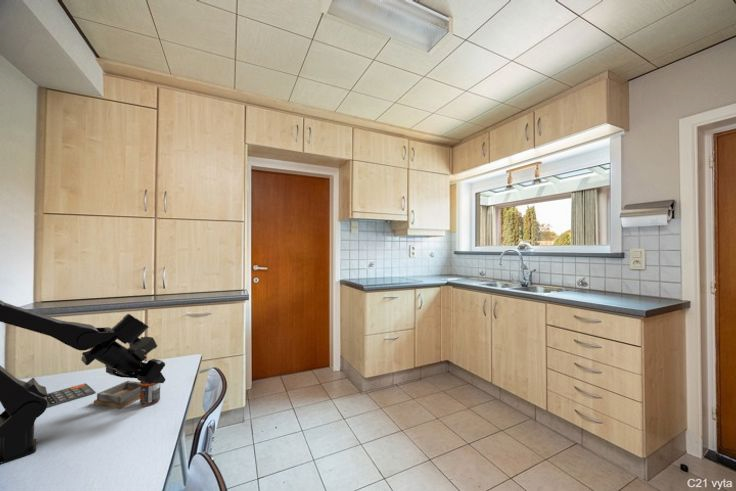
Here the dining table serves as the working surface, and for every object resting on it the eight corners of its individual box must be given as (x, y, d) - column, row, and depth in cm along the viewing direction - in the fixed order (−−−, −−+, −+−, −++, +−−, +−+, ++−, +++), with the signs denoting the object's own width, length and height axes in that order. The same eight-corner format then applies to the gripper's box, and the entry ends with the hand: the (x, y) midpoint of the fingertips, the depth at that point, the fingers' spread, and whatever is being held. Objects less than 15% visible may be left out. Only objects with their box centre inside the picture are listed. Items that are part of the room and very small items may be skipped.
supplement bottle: (136, 404, 92) (136, 372, 92) (154, 397, 96) (155, 367, 97) (145, 408, 90) (145, 376, 90) (163, 400, 94) (163, 370, 94)
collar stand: (152, 392, 99) (152, 383, 99) (120, 408, 89) (120, 398, 89) (128, 389, 102) (128, 379, 102) (93, 404, 91) (94, 394, 92)
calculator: (96, 391, 99) (28, 411, 86) (96, 394, 99) (27, 415, 86) (85, 382, 105) (21, 400, 93) (85, 385, 105) (21, 403, 93)
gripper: (159, 334, 86) (192, 359, 97) (117, 327, 93) (153, 351, 103) (128, 371, 79) (168, 394, 89) (86, 362, 85) (128, 384, 96)
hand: (155, 379), depth 94 cm, fingers open, 8 cm apart
